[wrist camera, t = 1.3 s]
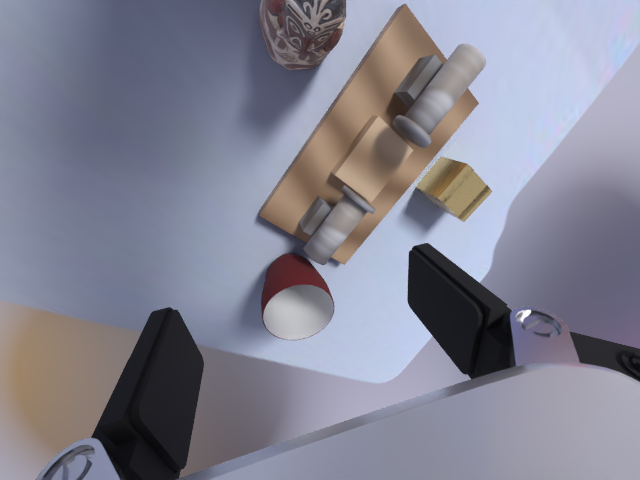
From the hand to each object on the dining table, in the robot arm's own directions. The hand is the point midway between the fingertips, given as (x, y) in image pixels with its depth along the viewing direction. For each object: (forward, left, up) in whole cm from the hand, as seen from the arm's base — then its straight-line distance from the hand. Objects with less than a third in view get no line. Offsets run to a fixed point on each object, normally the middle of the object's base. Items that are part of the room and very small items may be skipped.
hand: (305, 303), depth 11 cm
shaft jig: (-8, +9, -24) cm, 27 cm away
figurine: (-13, -5, -24) cm, 28 cm away
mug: (+11, +10, -24) cm, 28 cm away
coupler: (-12, +21, -24) cm, 34 cm away
